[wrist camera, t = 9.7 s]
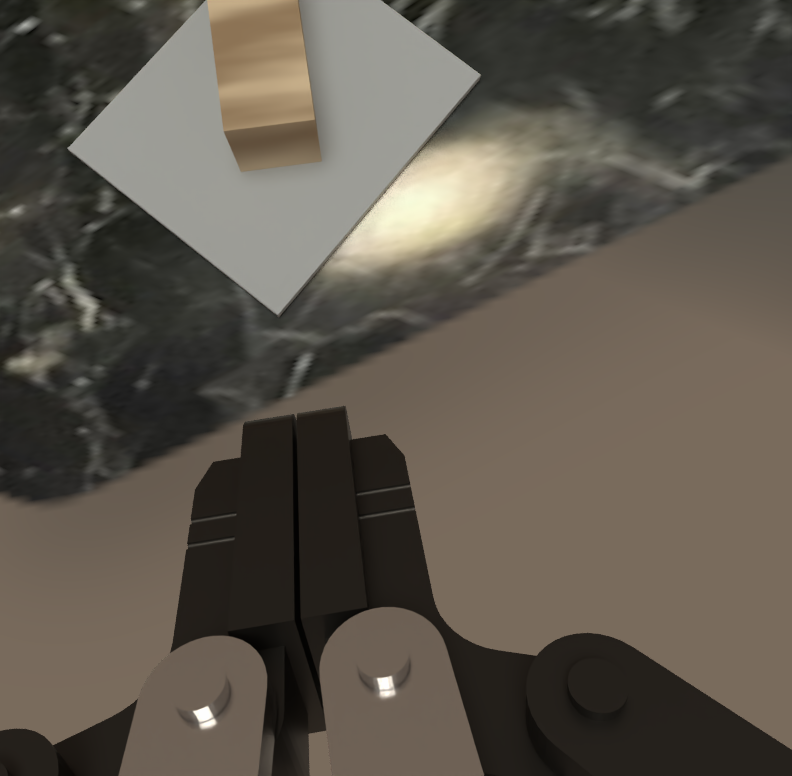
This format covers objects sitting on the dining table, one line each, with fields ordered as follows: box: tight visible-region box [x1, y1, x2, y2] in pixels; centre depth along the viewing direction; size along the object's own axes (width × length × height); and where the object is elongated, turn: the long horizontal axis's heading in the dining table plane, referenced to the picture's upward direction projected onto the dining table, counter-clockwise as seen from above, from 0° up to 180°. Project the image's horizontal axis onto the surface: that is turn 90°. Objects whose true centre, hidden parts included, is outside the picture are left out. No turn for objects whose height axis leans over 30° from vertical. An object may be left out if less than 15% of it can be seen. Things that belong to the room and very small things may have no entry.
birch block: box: [207, 0, 322, 172], centre depth 38 cm, size 4×4×14 cm
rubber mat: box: [68, 0, 481, 317], centre depth 40 cm, size 18×15×1 cm
